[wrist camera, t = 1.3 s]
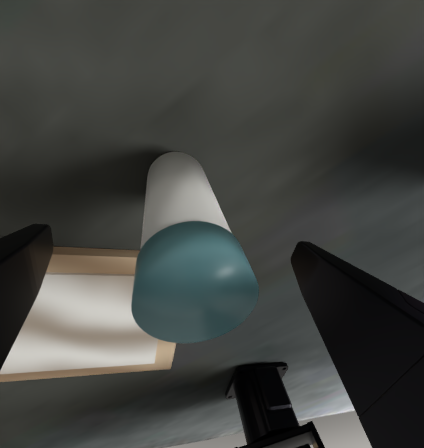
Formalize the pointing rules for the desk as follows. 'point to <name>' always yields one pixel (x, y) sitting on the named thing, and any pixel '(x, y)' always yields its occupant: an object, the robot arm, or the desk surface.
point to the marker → (188, 259)
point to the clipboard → (85, 321)
